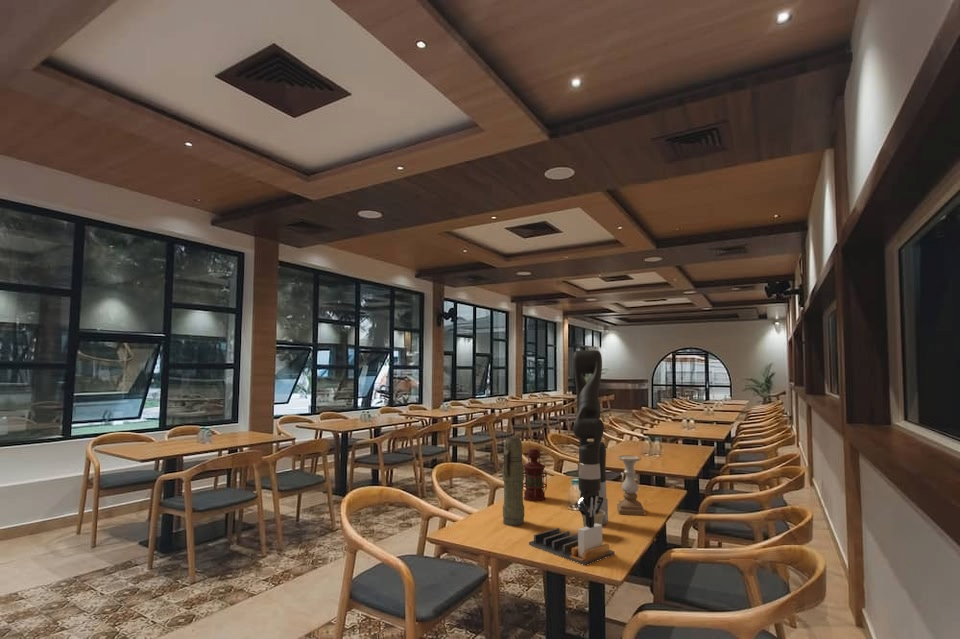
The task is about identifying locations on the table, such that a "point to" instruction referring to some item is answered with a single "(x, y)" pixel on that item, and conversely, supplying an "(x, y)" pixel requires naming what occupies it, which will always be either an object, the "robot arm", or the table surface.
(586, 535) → the panel
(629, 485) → the candle holder
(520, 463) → the thermos
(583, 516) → the flower pot
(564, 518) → the table surface
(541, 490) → the lantern
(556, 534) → the rack
